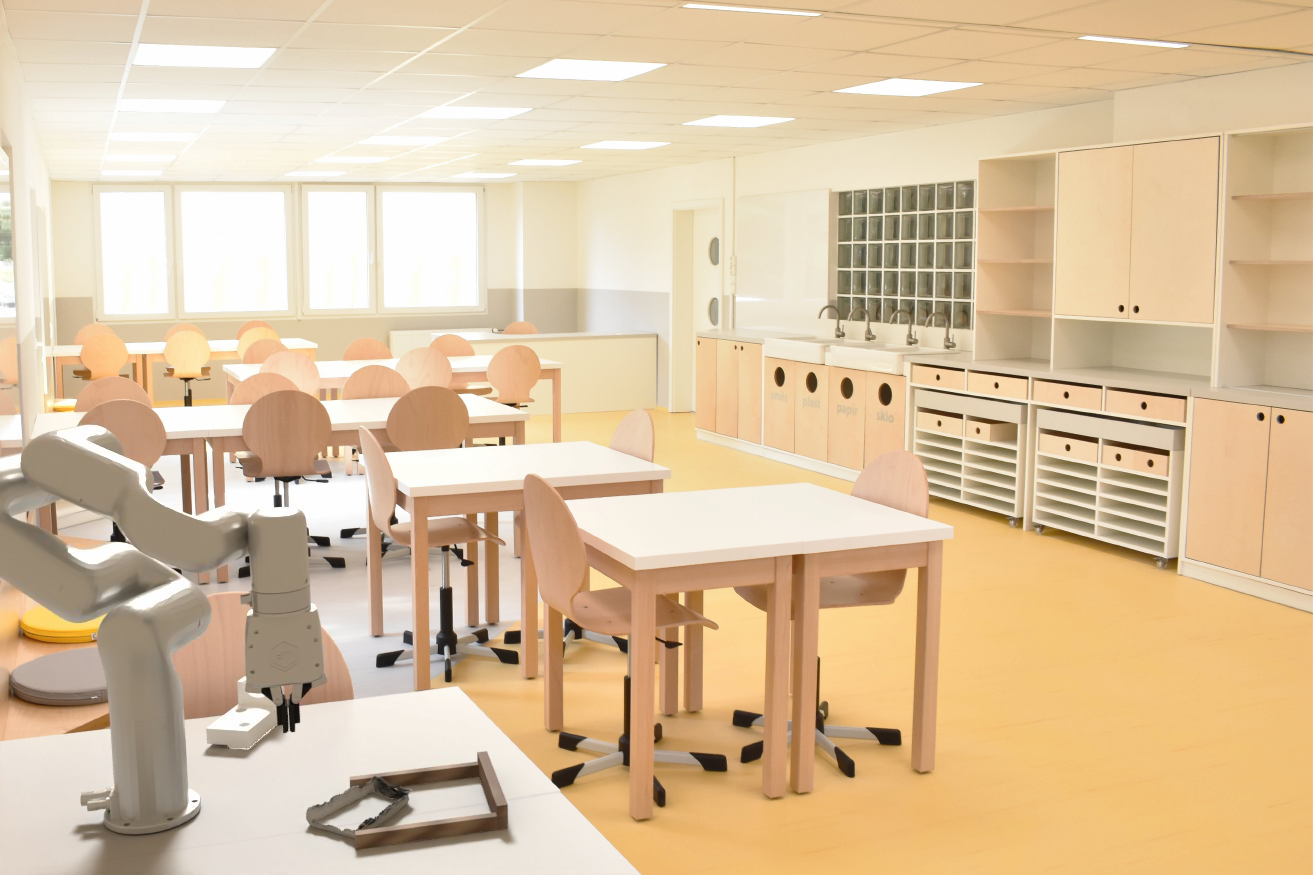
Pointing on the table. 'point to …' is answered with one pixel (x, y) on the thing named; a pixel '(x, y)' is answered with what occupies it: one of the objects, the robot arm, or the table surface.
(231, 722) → the bracket
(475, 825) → the stop bay
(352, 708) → the table surface
